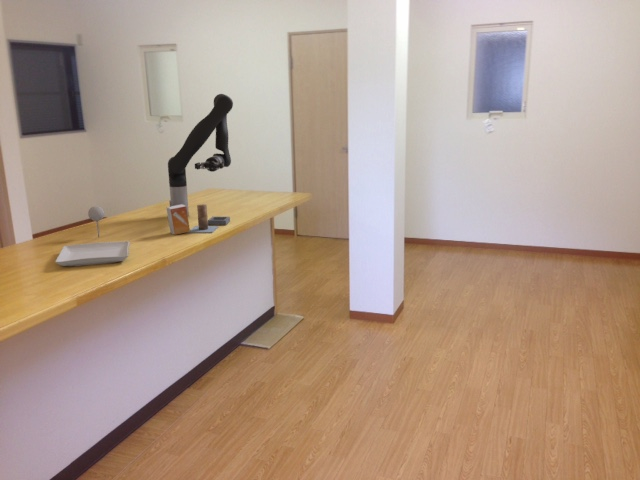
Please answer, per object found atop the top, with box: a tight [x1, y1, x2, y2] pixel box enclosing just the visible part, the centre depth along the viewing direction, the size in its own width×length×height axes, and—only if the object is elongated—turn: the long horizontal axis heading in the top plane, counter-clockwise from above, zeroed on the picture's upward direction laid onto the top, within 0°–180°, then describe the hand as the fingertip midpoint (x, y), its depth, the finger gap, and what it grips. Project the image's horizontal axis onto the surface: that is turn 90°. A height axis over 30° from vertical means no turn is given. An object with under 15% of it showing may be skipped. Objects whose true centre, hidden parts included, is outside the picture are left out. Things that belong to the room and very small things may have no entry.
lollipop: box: [87, 205, 105, 238], centre depth 267 cm, size 7×7×15 cm
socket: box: [208, 216, 231, 226], centre depth 295 cm, size 9×9×2 cm
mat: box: [187, 225, 219, 234], centre depth 280 cm, size 12×12×1 cm
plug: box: [196, 204, 209, 230], centre depth 278 cm, size 5×5×12 cm
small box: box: [166, 204, 191, 236], centre depth 273 cm, size 8×6×13 cm
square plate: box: [54, 240, 131, 267], centre depth 233 cm, size 27×27×4 cm
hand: (205, 167), depth 283 cm, fingers open, 8 cm apart
